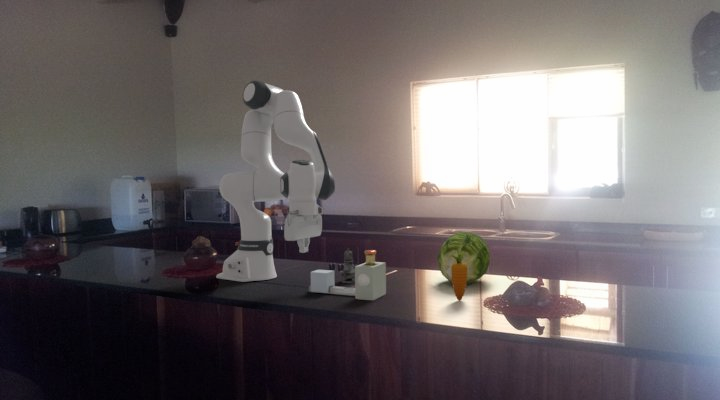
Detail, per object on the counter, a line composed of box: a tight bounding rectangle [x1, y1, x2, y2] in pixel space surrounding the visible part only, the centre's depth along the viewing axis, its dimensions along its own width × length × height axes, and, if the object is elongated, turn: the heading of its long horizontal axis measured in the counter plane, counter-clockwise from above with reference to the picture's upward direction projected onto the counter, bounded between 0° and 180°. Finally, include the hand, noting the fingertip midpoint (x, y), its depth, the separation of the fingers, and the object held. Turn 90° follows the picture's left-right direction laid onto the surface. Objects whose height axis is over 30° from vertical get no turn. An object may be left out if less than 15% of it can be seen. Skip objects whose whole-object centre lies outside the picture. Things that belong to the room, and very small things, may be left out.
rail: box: [308, 284, 355, 297], centre depth 190 cm, size 18×2×2 cm, turn 65°
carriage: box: [310, 269, 336, 294], centre depth 192 cm, size 6×5×6 cm
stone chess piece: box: [339, 247, 355, 284], centre depth 209 cm, size 6×6×12 cm
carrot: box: [451, 250, 467, 302], centre depth 177 cm, size 5×5×15 cm
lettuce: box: [437, 231, 491, 285], centre depth 203 cm, size 17×23×17 cm
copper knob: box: [364, 249, 377, 266], centre depth 184 cm, size 4×4×6 cm
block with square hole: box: [354, 261, 387, 301], centre depth 184 cm, size 6×10×10 cm, turn 155°
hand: (303, 252), depth 194 cm, fingers closed
